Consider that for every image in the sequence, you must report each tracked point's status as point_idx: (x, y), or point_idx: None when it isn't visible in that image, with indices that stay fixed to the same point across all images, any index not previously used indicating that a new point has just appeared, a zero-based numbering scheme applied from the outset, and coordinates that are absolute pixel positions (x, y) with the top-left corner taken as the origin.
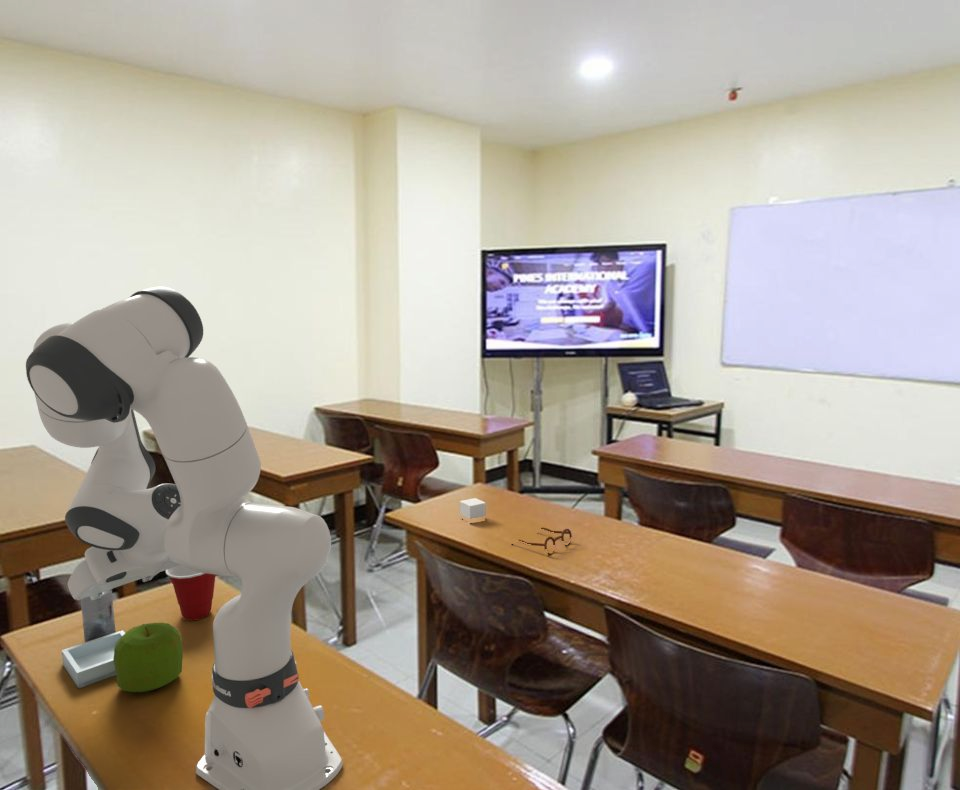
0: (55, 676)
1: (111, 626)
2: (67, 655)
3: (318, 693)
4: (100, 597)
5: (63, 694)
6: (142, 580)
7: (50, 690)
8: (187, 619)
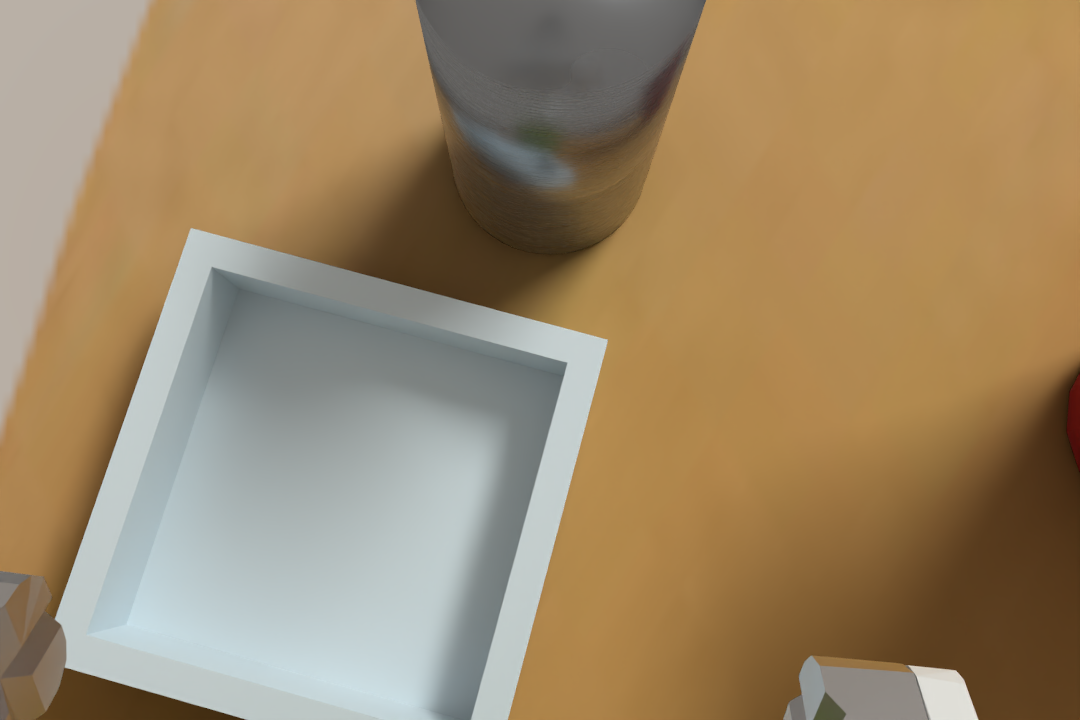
0: (123, 356)
1: (592, 212)
2: (166, 339)
3: None
4: (48, 693)
5: None
6: (788, 709)
7: (7, 494)
8: (1074, 450)
